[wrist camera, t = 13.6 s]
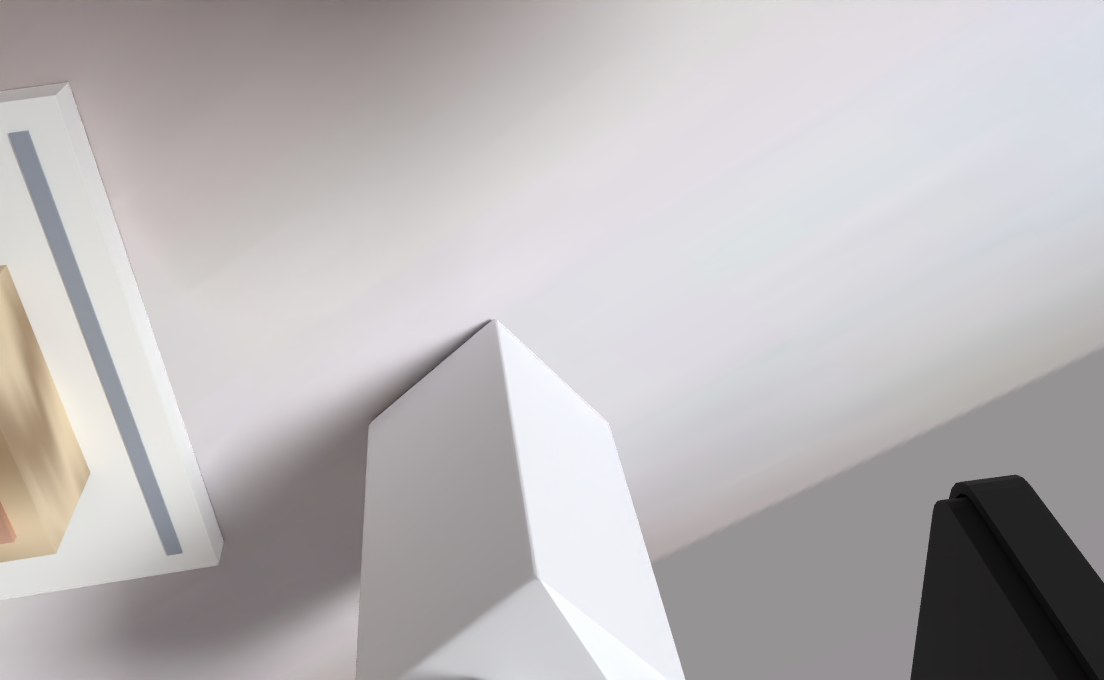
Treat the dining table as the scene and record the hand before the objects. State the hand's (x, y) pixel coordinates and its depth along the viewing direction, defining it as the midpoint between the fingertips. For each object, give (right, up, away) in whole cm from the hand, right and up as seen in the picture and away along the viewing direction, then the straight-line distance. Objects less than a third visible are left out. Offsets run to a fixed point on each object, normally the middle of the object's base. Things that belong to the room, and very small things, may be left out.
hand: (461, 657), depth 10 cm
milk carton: (-2, 0, +34) cm, 34 cm away
